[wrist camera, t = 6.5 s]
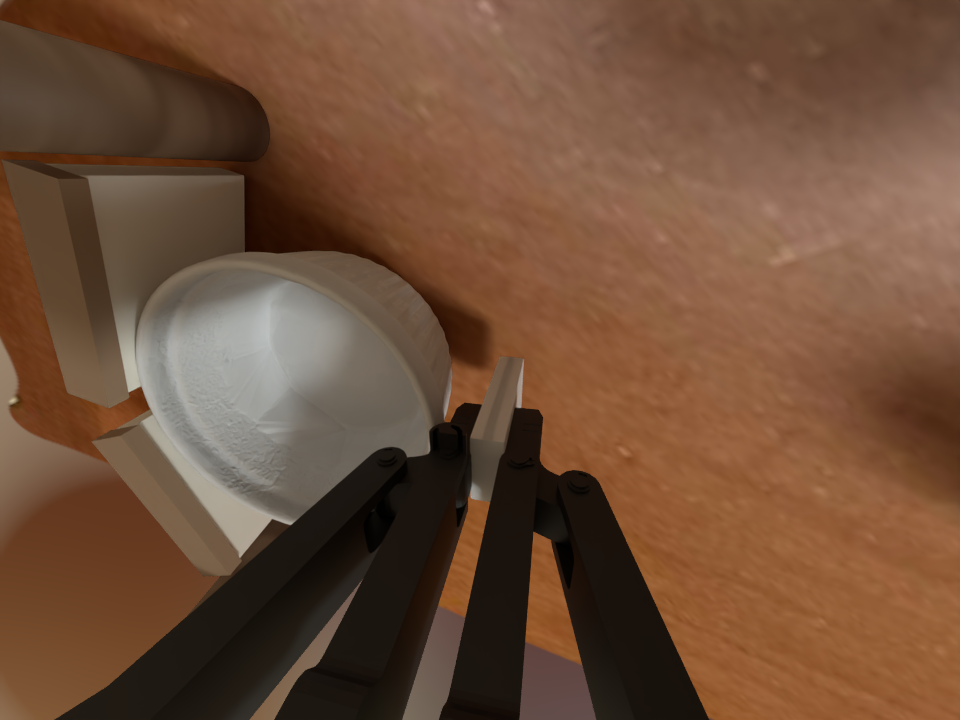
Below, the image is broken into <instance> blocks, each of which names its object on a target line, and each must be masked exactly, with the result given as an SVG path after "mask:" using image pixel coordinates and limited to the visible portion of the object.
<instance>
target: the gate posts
mask: <svg viewBox="0 0 960 720" xmlns="http://www.w3.org/2000/svg"><path fill="white" fill-rule="evenodd" d="M269 138H270V130H269V124H268V120H267V117H266V114H265V112H264V110H263V108H262V106H261V105H260V103H259V102H258V101H257V99H256V98H255V97H254V96H253V95H252V94H251V93H249V92H248V91H247V90H245V89H243V88H241V87H238V86H235V85H231V84H228V83H224V82H220V81H217V80H213V79H210V78H206V77H202V76H199V75H195V74H192V73H188V72H185V71H181V70H177V69H174V68H170V67H167V66H163V65H160V64H156V63H152V62H149V61H145V60H142V59H138V58H135V57H131V56H127V55H124V54H120V53H117V52H113V51H109V50H106V49H102V48H99V47H95V46H92V45H88V44H84V43H81V42H77V41H74V40H70V39H67V38H63V37H59V36H56V35H52V34H49V33H45V32H42V31H38V30H34V29H31V28H27V27H24V26H20V25H16V24H13V23H9V22H6V21H2V20H0V151H12V152H35V153H57V154H80V155H103V156H126V157H149V158H171V159H194V160H217V161H240V162H252V161H255V160H257V159H259V158H260V157H262V155H263V154H264V153H265V152H266V150H267V147H268V144H269ZM289 526H290V525H289V524H285V523H283V522H280V521H277V520H274V519H272V520H271V521H270V522H269V524H268V525H267V526H266V527H265V528H264V530H263V531H262V532H261V533H260V534H259V536H258V537H257V538H256V539H255V540H254V542H253V543H252V544H251V545H250V546H249V548H248V549H247V550H246V551H245V553H244V554H243V555H242V556H241V557H240V559H241V560H242V561H241V563H240V564H239V565H238V566H237V567H236V569H235V570H234V571H233V572H232V574H231V575H227V576H220V577H219V579H218V580H217V581H216V582H215V583H214V585H213V586H212V587H211V588H210V590H209V591H208V592H207V593H206V594H205V595H204V597H203V598H202V599H201V600H200V601H199V603H198V604H197V605H196V606H195V607H194V609H193V610H192V611H191V612H190V613H192V612H193V611H194V610H195V609H196V608H197V607H198V606H199V605H201V604H202V603H203V602H204V601H205V600H206V599H207V598H209V597H210V596H211V595H212V594H213V593H214V592H215V591H217V590H218V589H219V588H220V587H221V586H222V585H223V584H224V583H226V582H227V581H228V580H229V579H230V578H231V577H232V576H234V575H235V574H236V573H237V572H238V571H239V570H240V569H242V568H243V567H244V566H245V565H246V564H247V563H248V562H249V561H251V560H252V559H253V558H254V557H255V556H256V555H257V554H259V553H260V552H261V551H262V550H263V549H264V548H265V547H267V546H268V545H269V544H270V543H271V542H272V541H273V540H274V539H276V538H277V537H278V536H279V535H280V534H281V533H282V532H284V531H285V530H286V529H287V528H288V527H289ZM190 613H189V614H190ZM189 614H188V615H189Z"/></svg>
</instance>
